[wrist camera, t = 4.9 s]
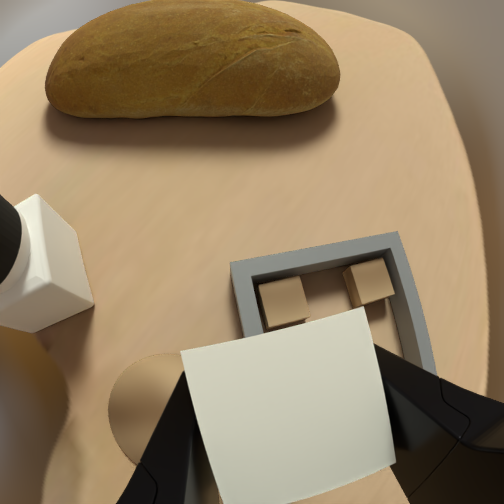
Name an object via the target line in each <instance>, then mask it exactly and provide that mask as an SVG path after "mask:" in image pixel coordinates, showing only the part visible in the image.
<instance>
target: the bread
mask: <svg viewBox="0 0 504 504" xmlns="http://www.w3.org/2000/svg"><path fill="white" fill-rule="evenodd" d="M339 81H340V69H339V65H338V62H337V59H336V57H335V55H334V53H333V51H332V49H331V48H330V46H329V45H328V44H327V43H326V41H325V40H324V39H323V38H322V37H321V36H319V35H318V34H317V33H316V32H315V31H314V30H313V29H311V28H310V27H308V26H307V25H305V24H304V23H302V22H300V21H299V20H297V19H295V18H293V17H291V16H289V15H287V14H285V13H282V12H280V11H277V10H274V9H271V8H268V7H265V6H262V5H259V4H255V3H250V2H245V1H239V0H151V1H146V2H141V3H136V4H131V5H128V6H125V7H123V8H119V9H117V10H114V11H110V12H108V13H106V14H104V15H101V16H99V17H97V18H95V19H93V20H91V21H90V22H88V23H86V24H85V25H83V26H82V27H80V28H79V29H77V30H76V31H75V32H74V33H73V34H71V35H70V36H69V37H68V38H67V39H66V40H65V42H64V43H63V44H62V45H61V47H60V48H59V50H58V51H57V53H56V55H55V57H54V59H53V60H52V62H51V65H50V67H49V70H48V73H47V76H46V81H45V91H46V96H47V98H48V100H49V102H50V103H51V104H52V105H53V106H54V107H55V108H56V109H58V110H60V111H61V112H63V113H67V114H70V115H74V116H77V117H82V118H117V117H126V118H136V119H141V118H148V117H158V116H164V115H165V116H206V117H220V116H232V115H247V116H282V115H288V114H293V113H299V112H304V111H308V110H311V109H313V108H315V107H317V106H319V105H321V104H323V103H324V102H326V101H327V100H328V99H330V98H331V96H332V95H333V94H334V92H335V91H336V90H337V88H338V85H339Z"/></svg>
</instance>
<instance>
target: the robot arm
mask: <svg viewBox="0 0 504 504" xmlns="http://www.w3.org/2000/svg"><path fill="white" fill-rule="evenodd" d="M373 345H374V349H375V353H376V357H377V361H378V366H379V370H380V375H381V379H382V384H383V389H384V394H385V399H386V404H387V409H388V415H389V420H390V426H391V432H392V438H393V445H394V451H395V458H396V463H394V464H392V465H390V468H391V469H392V471H393V473H394V475H395V477H396V479H397V480H398V482H399V484H400V486H401V488H402V490H403V492H404V493H405V495H406V497H407V498H408V501H409V503H410V504H504V403H502V402H499V401H496V400H493V399H490V398H487V397H485V396H482V395H479V394H476V393H474V392H471V391H469V390H466V389H464V388H461V387H459V386H457V385H455V384H453V383H451V382H449V381H447V380H445V379H443V378H440V379H439V377H438V376H436V375H434V374H432V373H430V372H428V371H426V370H425V369H423V368H421V367H419V366H417V365H415V364H413V363H411V362H409V361H407V360H405V359H403V358H401V357H399V356H397V355H395V354H393V353H391V352H389V351H387V350H386V349H384V348H382V347H380V346H378V345H376V344H374V343H373ZM116 504H219V495H218V486H217V483H216V480H215V477H214V474H213V471H212V468H211V465H210V462H209V459H208V455H207V452H206V449H205V445H204V442H203V439H202V435H201V432H200V428H199V425H198V421H197V417H196V414H195V410H194V406H193V402H192V398H191V394H190V390H189V386H188V382H187V378H186V374H185V370H184V371H183V372H182V373H181V375H180V377H179V379H178V381H177V383H176V386H175V388H174V390H173V392H172V394H171V396H170V398H169V400H168V402H167V404H166V406H165V408H164V410H163V412H162V415H161V417H160V419H159V421H158V423H157V425H156V427H155V429H154V431H153V433H152V435H151V438H150V440H149V442H148V444H147V446H146V448H145V450H144V452H143V454H142V456H141V459H140V462H139V463H138V465H137V467H136V469H135V471H134V473H133V475H132V477H131V479H130V481H129V483H128V485H127V487H126V488H125V490H124V492H123V493H122V495H121V496H120V498H119V500H118V501H117V503H116Z"/></svg>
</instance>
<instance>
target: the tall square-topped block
mask: <svg viewBox="0 0 504 504" xmlns="http://www.w3.org/2000/svg"><path fill="white" fill-rule="evenodd" d="M180 352H181V357H182V361H183V365H184V370H185V374H186V378H187V382H188V386H189V390H190V394H191V398H192V402H193V406H194V410H195V414H196V417H197V421H198V425H199V428H200V432H201V435H202V439H203V442H204V445H205V449H206V452H207V455H208V459H209V462H210V465H211V468H212V471H213V474H214V477H215V480H216V483H217V486H218V489H219V492H220V495H221V498H222V501H223V503H224V504H288V503H291V502H295V501H298V500H302V499H305V498H309V497H312V496H315V495H318V494H321V493H324V492H327V491H330V490H333V489H335V488H338V487H341V486H343V485H346V484H349V483H351V482H354V481H356V480H359V479H361V478H363V477H366V476H368V475H370V474H373V473H375V472H377V471H379V470H381V469H384V468H386V467H388V466H390V465H392V464H394V463H396V458H395V451H394V445H393V438H392V432H391V426H390V420H389V415H388V409H387V404H386V399H385V394H384V389H383V384H382V379H381V375H380V370H379V366H378V361H377V357H376V353H375V349H374V345H373V340H372V336H371V332H370V329H369V325H368V321H367V317H366V313H365V310H364V306H363V307H360V308H356V309H353V310H350V311H346V312H343V313H340V314H336V315H333V316H329V317H326V318H322V319H318V320H315V321H311V322H307V323H304V324H300V325H296V326H292V327H288V328H284V329H280V330H276V331H272V332H268V333H264V334H260V335H255V336H251V337H247V338H242V339H238V340H233V341H229V342H224V343H219V344H214V345H209V346H204V347H199V348H194V349H189V350H183V351H180Z"/></svg>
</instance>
